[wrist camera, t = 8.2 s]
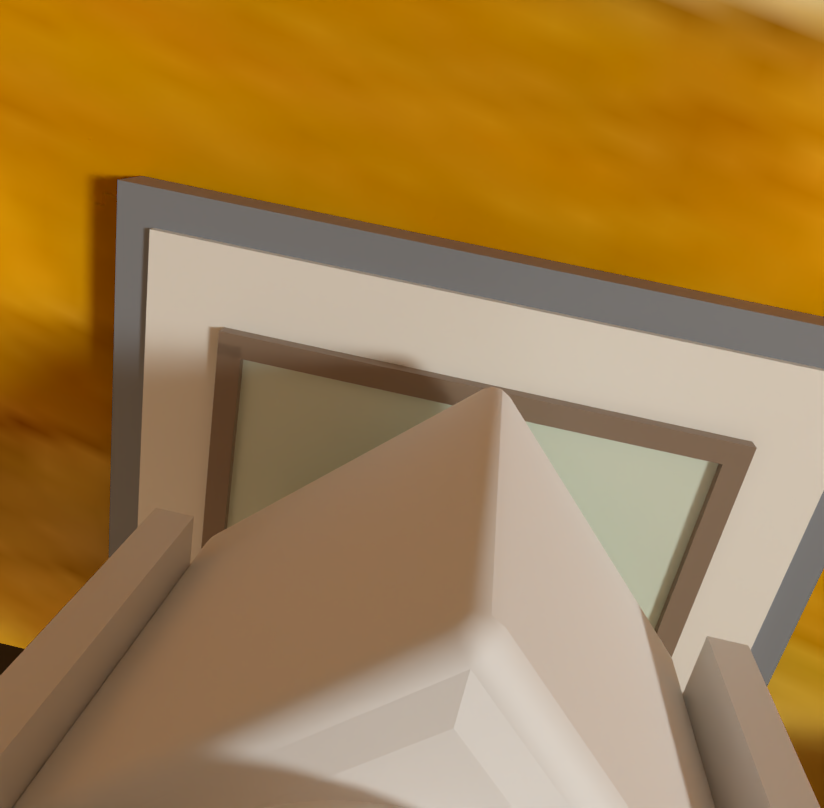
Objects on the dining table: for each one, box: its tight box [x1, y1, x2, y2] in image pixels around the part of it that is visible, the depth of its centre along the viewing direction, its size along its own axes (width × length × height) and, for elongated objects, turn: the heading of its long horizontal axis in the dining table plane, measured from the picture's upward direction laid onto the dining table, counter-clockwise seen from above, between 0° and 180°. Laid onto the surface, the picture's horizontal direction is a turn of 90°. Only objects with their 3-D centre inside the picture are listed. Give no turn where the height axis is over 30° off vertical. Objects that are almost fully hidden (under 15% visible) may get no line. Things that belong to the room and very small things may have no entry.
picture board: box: [109, 176, 824, 694], centre depth 18 cm, size 16×20×2 cm
